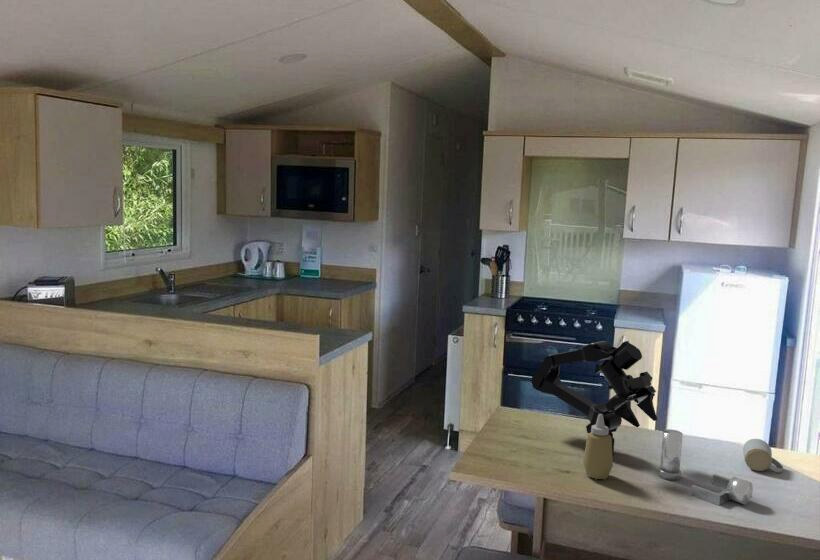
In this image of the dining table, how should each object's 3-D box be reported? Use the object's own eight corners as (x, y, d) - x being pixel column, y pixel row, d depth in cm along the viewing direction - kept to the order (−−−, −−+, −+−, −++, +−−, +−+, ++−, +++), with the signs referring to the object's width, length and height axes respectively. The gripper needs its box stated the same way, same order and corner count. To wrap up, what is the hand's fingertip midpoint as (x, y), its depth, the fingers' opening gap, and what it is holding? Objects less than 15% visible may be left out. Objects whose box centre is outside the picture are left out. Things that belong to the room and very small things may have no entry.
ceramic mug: (743, 470, 198) (746, 445, 197) (741, 460, 205) (744, 436, 204) (784, 477, 194) (787, 451, 193) (781, 467, 201) (784, 442, 200)
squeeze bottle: (596, 484, 186) (600, 421, 184) (576, 473, 193) (579, 412, 191) (618, 479, 190) (622, 417, 187) (597, 468, 197) (601, 408, 194)
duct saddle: (690, 494, 180) (692, 473, 180) (714, 482, 189) (716, 462, 188) (734, 511, 172) (736, 488, 171) (757, 497, 180) (759, 476, 179)
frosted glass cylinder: (662, 480, 189) (665, 435, 188) (655, 471, 195) (659, 428, 194) (683, 481, 189) (686, 436, 187) (676, 472, 195) (679, 429, 193)
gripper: (616, 368, 192) (649, 416, 186) (652, 359, 204) (684, 403, 197) (591, 388, 200) (622, 435, 193) (627, 378, 211) (657, 422, 204)
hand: (647, 423), depth 197 cm, fingers open, 9 cm apart
